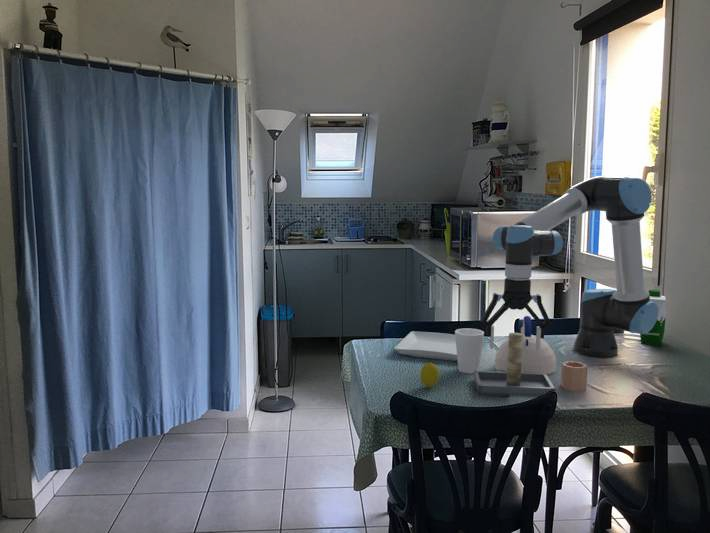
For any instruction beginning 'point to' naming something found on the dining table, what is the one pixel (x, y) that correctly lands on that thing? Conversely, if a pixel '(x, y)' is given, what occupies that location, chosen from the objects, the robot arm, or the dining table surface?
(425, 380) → the lemon
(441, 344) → the square plate
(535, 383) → the tray
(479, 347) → the foam cup
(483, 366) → the dining table surface
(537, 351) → the kettle
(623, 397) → the dining table surface
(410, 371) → the dining table surface
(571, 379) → the pink octagonal cup
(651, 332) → the milk carton
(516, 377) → the peg
